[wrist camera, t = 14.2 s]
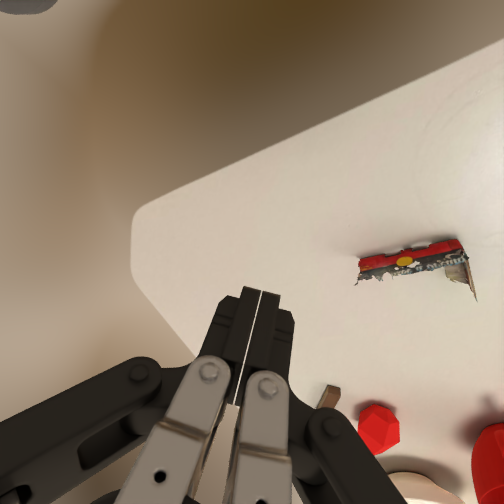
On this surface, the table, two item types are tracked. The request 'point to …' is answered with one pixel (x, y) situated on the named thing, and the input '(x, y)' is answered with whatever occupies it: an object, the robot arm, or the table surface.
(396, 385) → the table surface
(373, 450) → the apple
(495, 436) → the ceramic cup
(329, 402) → the walnut slat
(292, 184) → the table surface
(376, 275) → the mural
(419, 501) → the bowl
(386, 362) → the table surface
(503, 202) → the table surface
